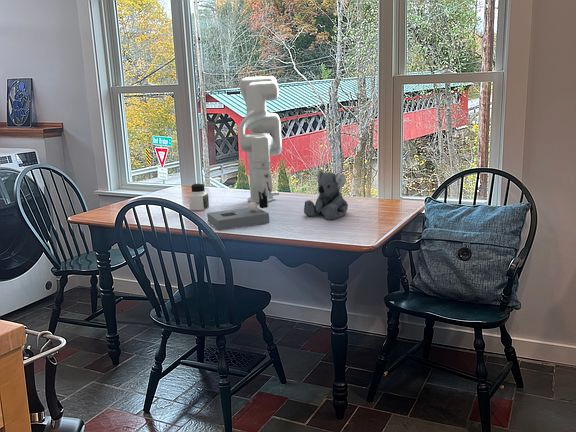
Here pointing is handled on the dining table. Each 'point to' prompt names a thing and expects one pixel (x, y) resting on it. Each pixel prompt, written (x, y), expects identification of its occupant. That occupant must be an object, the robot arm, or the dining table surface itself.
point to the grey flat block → (237, 218)
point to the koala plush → (328, 197)
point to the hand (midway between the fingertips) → (263, 207)
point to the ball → (252, 206)
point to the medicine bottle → (198, 197)
